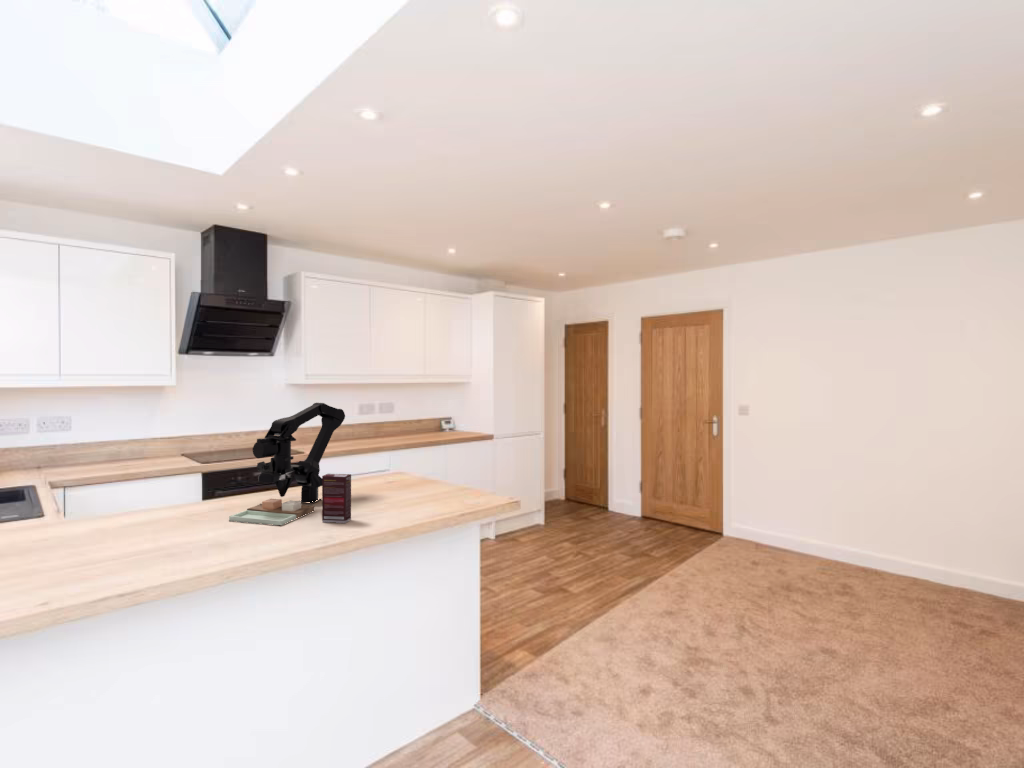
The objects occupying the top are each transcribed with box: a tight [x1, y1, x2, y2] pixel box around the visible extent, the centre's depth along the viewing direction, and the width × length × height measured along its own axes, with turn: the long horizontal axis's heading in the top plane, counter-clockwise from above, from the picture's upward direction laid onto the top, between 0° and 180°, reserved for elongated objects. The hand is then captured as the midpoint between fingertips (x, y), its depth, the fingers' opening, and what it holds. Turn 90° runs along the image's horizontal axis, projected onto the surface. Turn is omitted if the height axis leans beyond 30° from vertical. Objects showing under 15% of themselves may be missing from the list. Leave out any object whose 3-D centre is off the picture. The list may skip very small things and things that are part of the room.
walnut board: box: [246, 503, 315, 519], centre depth 185 cm, size 10×20×2 cm, turn 77°
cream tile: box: [282, 499, 302, 511], centre depth 183 cm, size 4×4×2 cm
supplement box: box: [321, 473, 352, 524], centre depth 176 cm, size 9×5×16 cm, turn 84°
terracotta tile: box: [261, 498, 283, 510], centre depth 184 cm, size 4×4×2 cm
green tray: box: [228, 509, 297, 526], centre depth 176 cm, size 8×20×2 cm, turn 77°
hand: (282, 496), depth 190 cm, fingers closed
